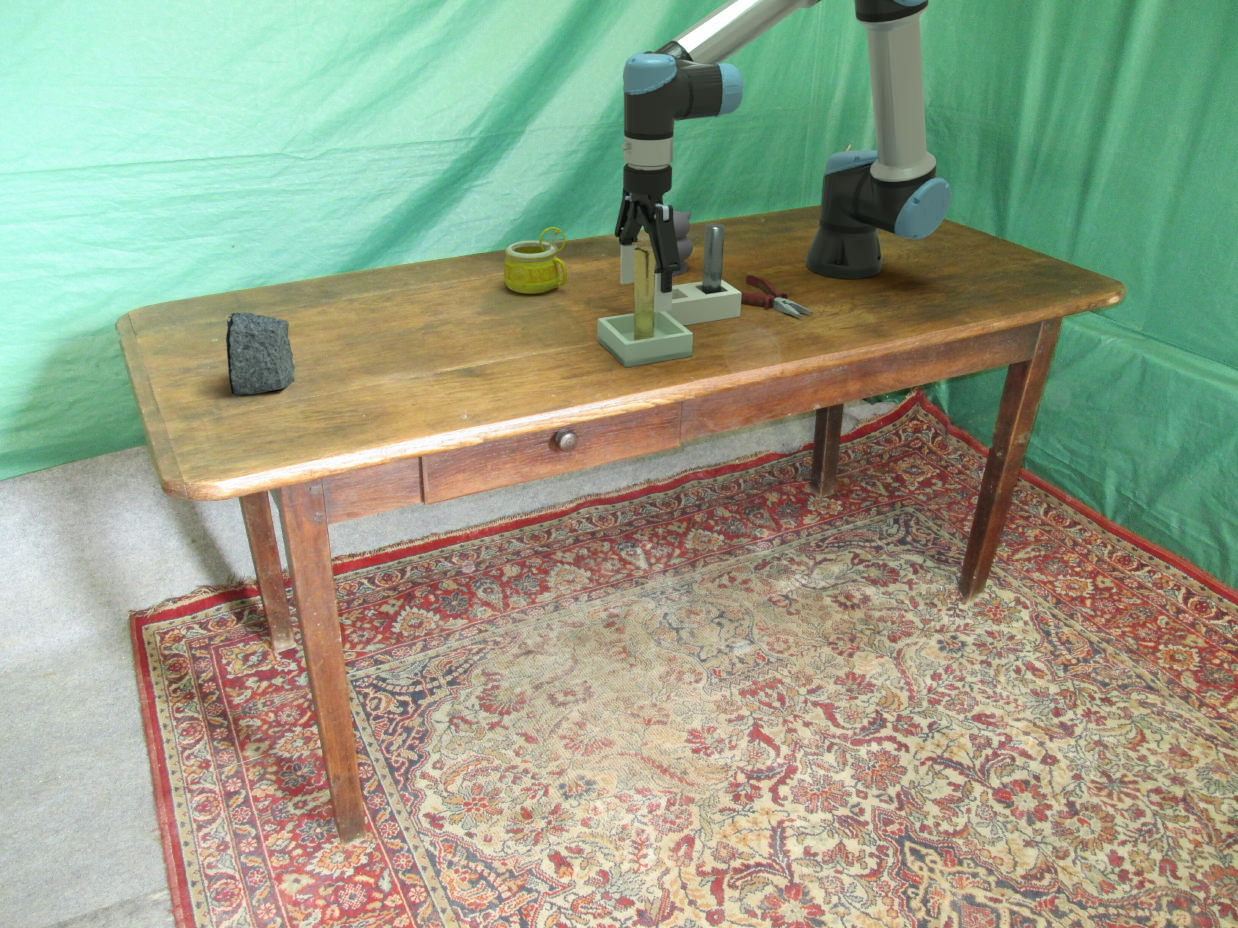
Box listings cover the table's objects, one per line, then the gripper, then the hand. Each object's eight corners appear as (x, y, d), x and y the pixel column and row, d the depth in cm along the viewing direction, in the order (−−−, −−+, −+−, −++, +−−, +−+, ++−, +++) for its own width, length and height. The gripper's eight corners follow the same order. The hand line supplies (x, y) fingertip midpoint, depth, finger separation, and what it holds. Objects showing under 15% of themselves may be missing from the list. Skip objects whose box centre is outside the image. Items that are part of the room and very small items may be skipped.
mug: (494, 293, 188) (490, 231, 182) (520, 275, 197) (517, 216, 191) (554, 302, 184) (552, 239, 178) (578, 284, 193) (577, 223, 187)
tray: (661, 330, 173) (661, 308, 171) (691, 356, 163) (693, 333, 161) (597, 340, 169) (597, 318, 167) (625, 367, 159) (625, 344, 157)
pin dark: (714, 307, 182) (719, 222, 174) (722, 314, 180) (728, 227, 172) (697, 310, 181) (701, 224, 173) (706, 316, 178) (710, 229, 170)
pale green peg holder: (719, 301, 185) (720, 278, 183) (739, 316, 179) (741, 293, 176) (641, 313, 179) (641, 290, 177) (659, 329, 173) (660, 305, 171)
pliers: (784, 328, 175) (786, 314, 174) (707, 296, 189) (708, 283, 187) (828, 314, 181) (829, 301, 180) (750, 284, 195) (751, 272, 194)
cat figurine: (678, 261, 205) (680, 203, 199) (699, 272, 199) (702, 213, 193) (643, 268, 201) (644, 209, 195) (664, 279, 195) (666, 219, 189)
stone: (221, 405, 151) (236, 361, 157) (288, 413, 152) (300, 369, 159) (214, 347, 142) (231, 303, 149) (285, 356, 144) (299, 313, 150)
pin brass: (649, 337, 167) (650, 245, 159) (657, 344, 165) (659, 251, 157) (630, 340, 166) (630, 248, 158) (638, 348, 163) (639, 254, 155)
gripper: (594, 149, 159) (595, 275, 170) (660, 186, 139) (656, 326, 150) (637, 145, 162) (635, 269, 172) (707, 181, 142) (700, 319, 153)
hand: (645, 296), depth 161 cm, fingers open, 13 cm apart
